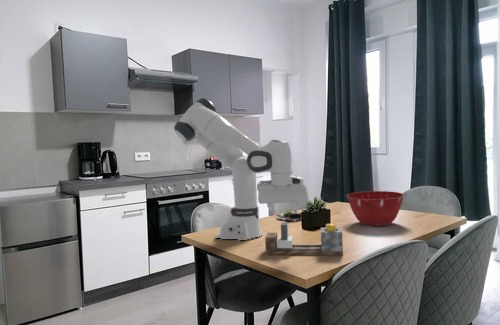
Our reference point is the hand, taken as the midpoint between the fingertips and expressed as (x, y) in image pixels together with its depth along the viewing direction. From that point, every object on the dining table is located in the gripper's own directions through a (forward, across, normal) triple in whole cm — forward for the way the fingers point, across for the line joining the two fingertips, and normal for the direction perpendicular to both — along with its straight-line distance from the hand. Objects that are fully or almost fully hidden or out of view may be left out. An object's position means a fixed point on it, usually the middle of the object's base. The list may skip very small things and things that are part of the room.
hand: (284, 213), depth 145 cm
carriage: (+13, 0, 0) cm, 13 cm away
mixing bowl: (+17, +42, +52) cm, 69 cm away
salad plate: (+16, -2, +66) cm, 68 cm away
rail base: (+16, +7, 0) cm, 17 cm away
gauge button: (+10, +18, 0) cm, 21 cm away
